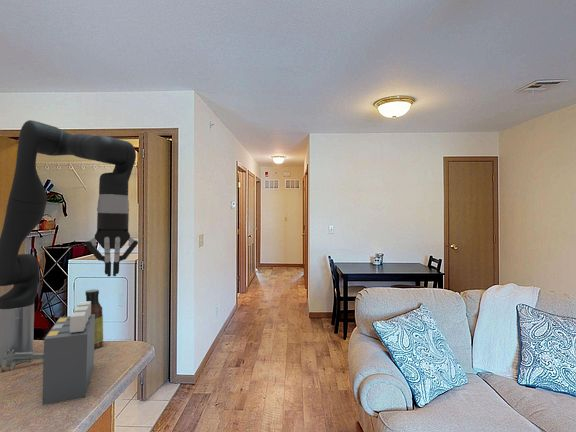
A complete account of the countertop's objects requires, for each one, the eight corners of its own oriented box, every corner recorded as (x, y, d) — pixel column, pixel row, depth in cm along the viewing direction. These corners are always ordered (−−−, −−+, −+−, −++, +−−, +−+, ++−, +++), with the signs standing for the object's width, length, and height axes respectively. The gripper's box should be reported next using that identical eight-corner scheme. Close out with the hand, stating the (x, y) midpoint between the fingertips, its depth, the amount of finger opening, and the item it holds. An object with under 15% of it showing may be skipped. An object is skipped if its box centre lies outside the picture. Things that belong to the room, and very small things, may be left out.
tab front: (69, 332, 83) (70, 316, 83) (72, 327, 87) (72, 312, 87) (83, 331, 84) (83, 315, 84) (85, 326, 88) (85, 311, 88)
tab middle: (73, 325, 88) (73, 310, 89) (75, 321, 92) (76, 307, 92) (86, 324, 90) (86, 309, 90) (88, 320, 93) (88, 306, 93)
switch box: (42, 405, 79) (44, 338, 80) (58, 371, 97) (59, 316, 97) (85, 397, 83) (87, 333, 83) (93, 366, 100) (95, 313, 101)
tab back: (76, 319, 94) (77, 305, 94) (79, 315, 98) (79, 301, 98) (89, 318, 95) (89, 304, 95) (90, 314, 99) (91, 301, 99)
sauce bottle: (102, 342, 120) (104, 287, 120) (103, 348, 114) (104, 291, 115) (81, 345, 116) (83, 289, 117) (81, 351, 111) (82, 292, 111)
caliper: (1, 373, 96) (1, 351, 96) (1, 371, 96) (2, 350, 96) (83, 356, 108) (83, 337, 108) (82, 355, 109) (83, 336, 109)
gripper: (140, 212, 95) (138, 272, 95) (86, 211, 90) (84, 275, 89) (140, 212, 88) (139, 276, 88) (82, 211, 83) (80, 279, 83)
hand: (111, 275), depth 89 cm, fingers closed
